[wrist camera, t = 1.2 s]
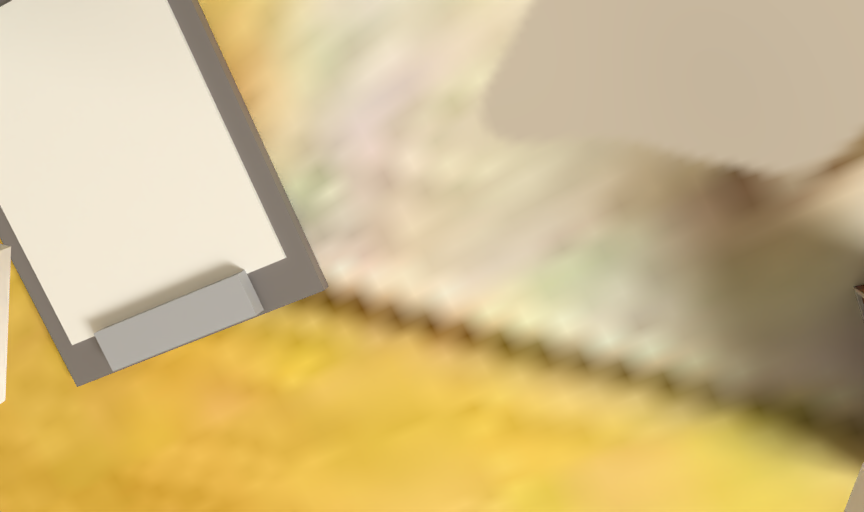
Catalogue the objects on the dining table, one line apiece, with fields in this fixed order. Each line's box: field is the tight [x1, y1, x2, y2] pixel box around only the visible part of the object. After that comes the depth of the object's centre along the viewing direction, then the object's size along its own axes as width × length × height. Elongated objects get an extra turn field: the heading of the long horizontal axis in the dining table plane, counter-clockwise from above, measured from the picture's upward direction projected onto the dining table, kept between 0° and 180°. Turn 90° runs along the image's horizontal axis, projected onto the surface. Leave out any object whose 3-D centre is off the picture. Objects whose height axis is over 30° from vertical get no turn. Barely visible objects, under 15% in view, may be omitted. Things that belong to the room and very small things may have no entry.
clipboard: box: [0, 0, 329, 387], centre depth 37 cm, size 18×14×2 cm
